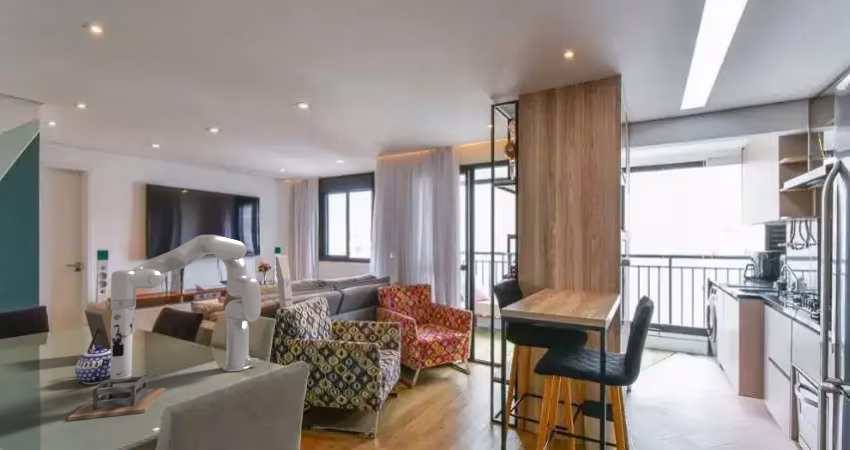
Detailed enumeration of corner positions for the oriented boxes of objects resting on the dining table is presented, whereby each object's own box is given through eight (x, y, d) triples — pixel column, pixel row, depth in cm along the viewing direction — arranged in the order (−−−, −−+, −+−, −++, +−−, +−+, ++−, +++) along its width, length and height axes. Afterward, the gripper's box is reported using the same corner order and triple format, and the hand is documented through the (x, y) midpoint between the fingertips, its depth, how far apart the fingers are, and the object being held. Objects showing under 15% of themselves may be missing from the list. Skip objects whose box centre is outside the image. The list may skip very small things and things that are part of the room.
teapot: (68, 379, 177) (69, 344, 177) (110, 370, 188) (111, 338, 189) (82, 391, 161) (83, 353, 162) (128, 381, 173) (128, 346, 173)
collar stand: (165, 390, 162) (165, 370, 162) (144, 412, 141) (145, 389, 141) (99, 396, 156) (100, 375, 156) (68, 421, 135) (68, 396, 135)
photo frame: (106, 352, 220) (107, 305, 221) (124, 358, 208) (125, 308, 209) (71, 359, 207) (72, 309, 208) (88, 365, 195) (89, 313, 196)
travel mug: (120, 383, 145) (122, 326, 146) (105, 382, 146) (107, 325, 147) (136, 377, 151) (137, 322, 152) (121, 376, 152) (123, 322, 153)
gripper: (125, 307, 142) (124, 359, 142) (144, 300, 159) (142, 346, 158) (100, 308, 140) (98, 361, 140) (121, 301, 157) (120, 348, 156)
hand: (122, 353), depth 149 cm, fingers closed on travel mug, 6 cm apart
